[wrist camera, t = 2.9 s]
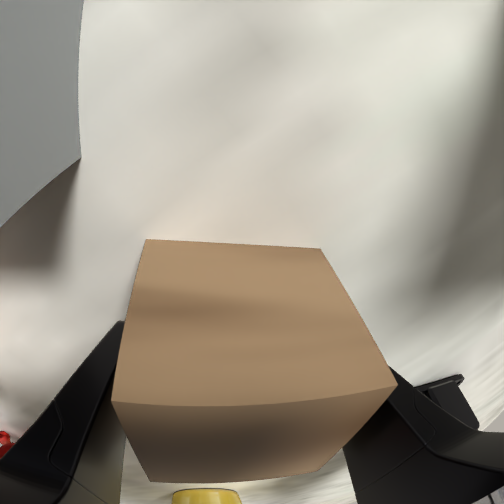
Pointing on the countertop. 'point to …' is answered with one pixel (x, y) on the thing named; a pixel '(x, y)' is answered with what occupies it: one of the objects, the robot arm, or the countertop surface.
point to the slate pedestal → (37, 96)
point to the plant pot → (206, 496)
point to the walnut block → (242, 363)
